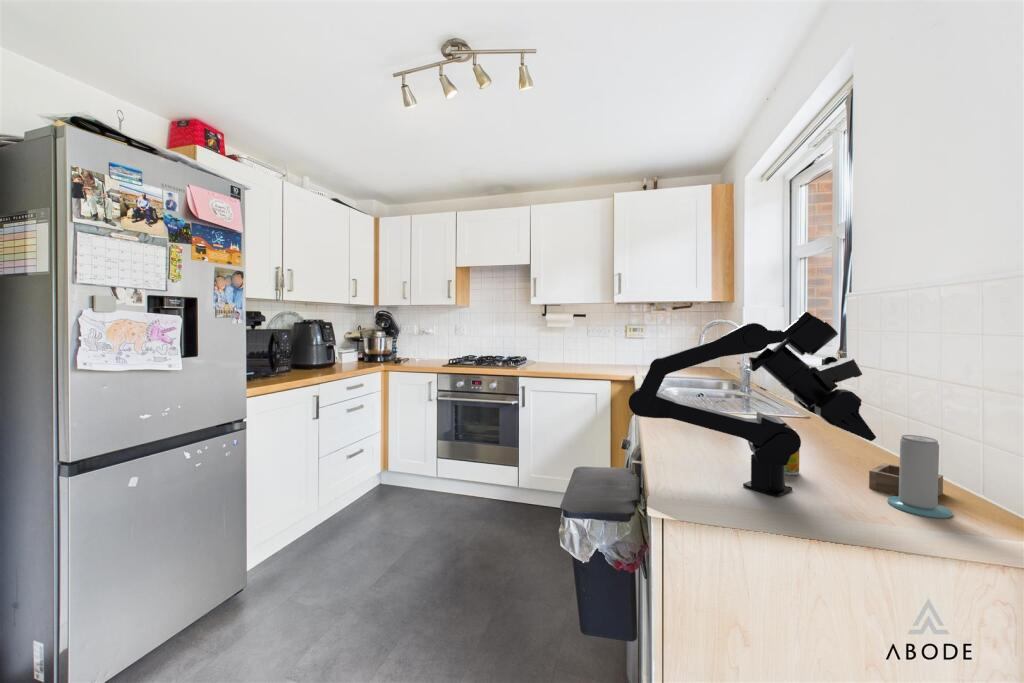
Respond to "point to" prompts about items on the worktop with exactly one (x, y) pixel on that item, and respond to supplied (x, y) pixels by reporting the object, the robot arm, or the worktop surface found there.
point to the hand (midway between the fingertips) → (862, 433)
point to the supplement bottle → (793, 464)
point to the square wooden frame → (891, 479)
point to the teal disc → (935, 513)
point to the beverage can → (919, 471)
